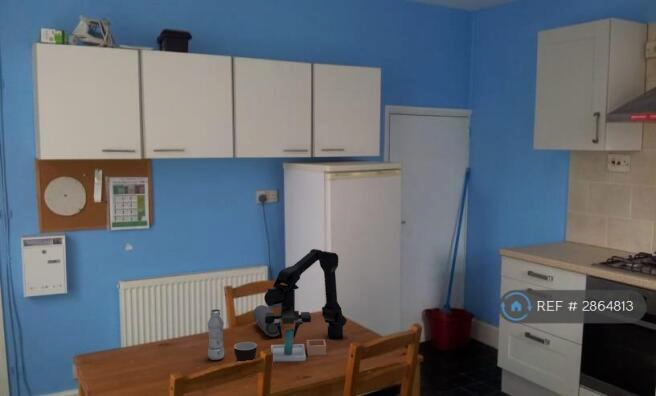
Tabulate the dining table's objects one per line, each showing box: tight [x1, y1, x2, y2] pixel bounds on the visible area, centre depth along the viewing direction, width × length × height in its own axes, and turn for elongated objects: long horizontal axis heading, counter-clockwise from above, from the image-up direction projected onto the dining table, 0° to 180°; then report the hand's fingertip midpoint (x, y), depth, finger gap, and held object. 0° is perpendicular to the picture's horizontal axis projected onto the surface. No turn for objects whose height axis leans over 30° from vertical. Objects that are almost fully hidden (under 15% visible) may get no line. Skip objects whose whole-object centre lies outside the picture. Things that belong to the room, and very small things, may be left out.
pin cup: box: [306, 339, 327, 357], centre depth 227 cm, size 8×8×4 cm
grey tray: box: [270, 343, 307, 363], centre depth 224 cm, size 14×14×2 cm
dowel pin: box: [283, 327, 294, 355], centre depth 224 cm, size 3×3×10 cm
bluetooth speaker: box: [252, 304, 284, 338], centre depth 253 cm, size 23×9×10 cm, turn 21°
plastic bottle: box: [207, 308, 225, 361], centre depth 219 cm, size 6×7×20 cm
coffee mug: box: [233, 341, 258, 363], centre depth 209 cm, size 12×9×10 cm
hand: (287, 337), depth 224 cm, fingers open, 5 cm apart
